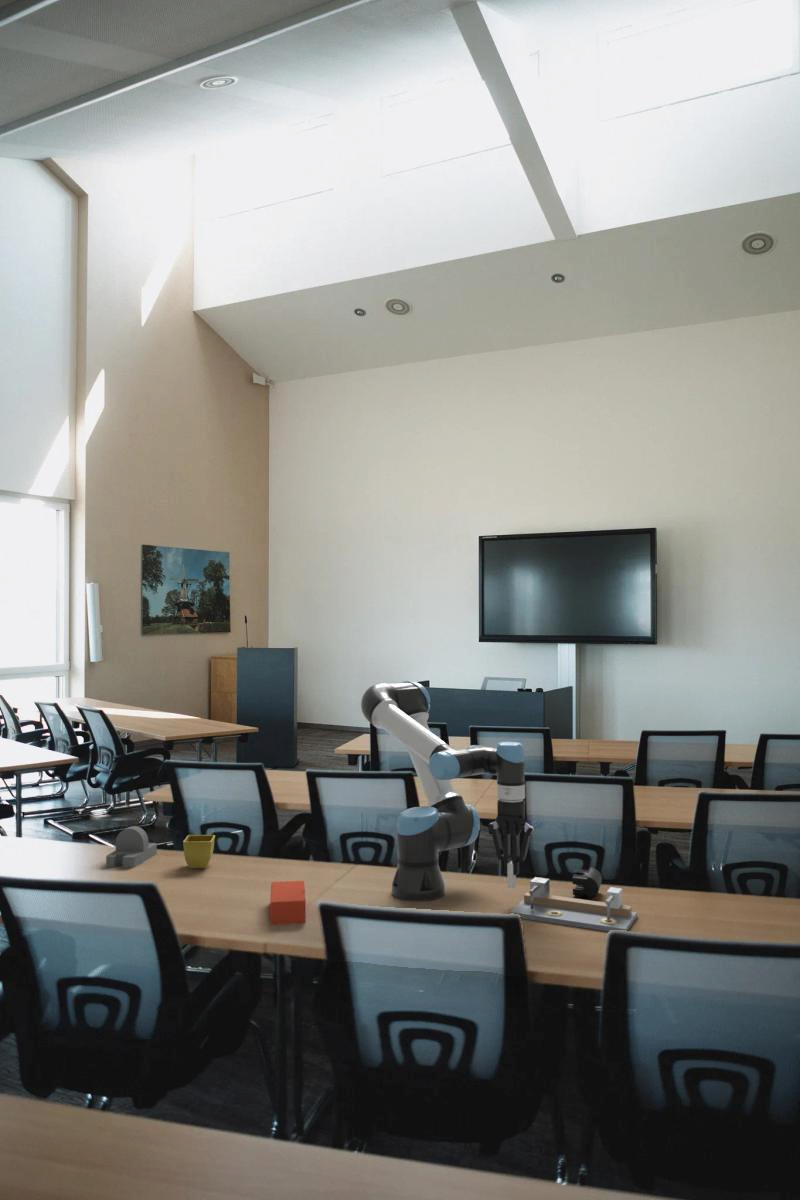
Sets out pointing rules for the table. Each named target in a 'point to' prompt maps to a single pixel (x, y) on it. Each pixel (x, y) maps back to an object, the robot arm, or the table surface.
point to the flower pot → (198, 850)
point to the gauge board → (579, 911)
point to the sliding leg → (539, 888)
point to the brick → (287, 902)
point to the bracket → (131, 848)
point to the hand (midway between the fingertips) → (511, 886)
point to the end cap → (586, 884)
